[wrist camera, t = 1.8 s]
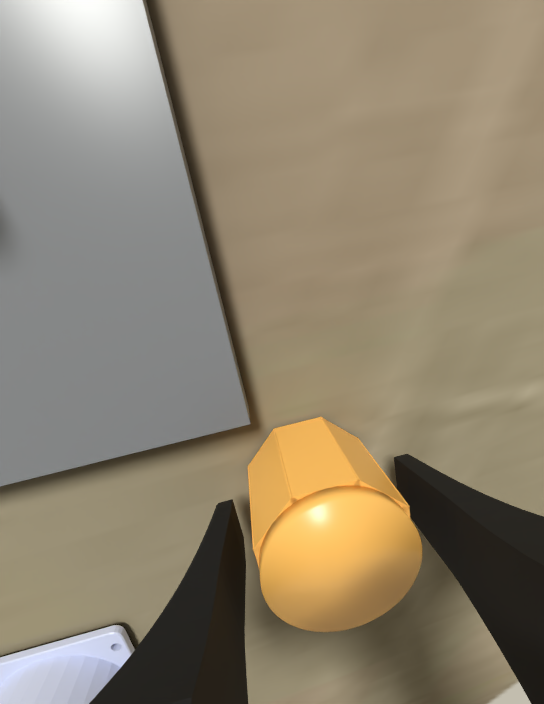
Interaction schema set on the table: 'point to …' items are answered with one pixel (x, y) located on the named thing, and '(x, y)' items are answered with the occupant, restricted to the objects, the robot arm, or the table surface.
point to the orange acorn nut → (328, 529)
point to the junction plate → (100, 249)
